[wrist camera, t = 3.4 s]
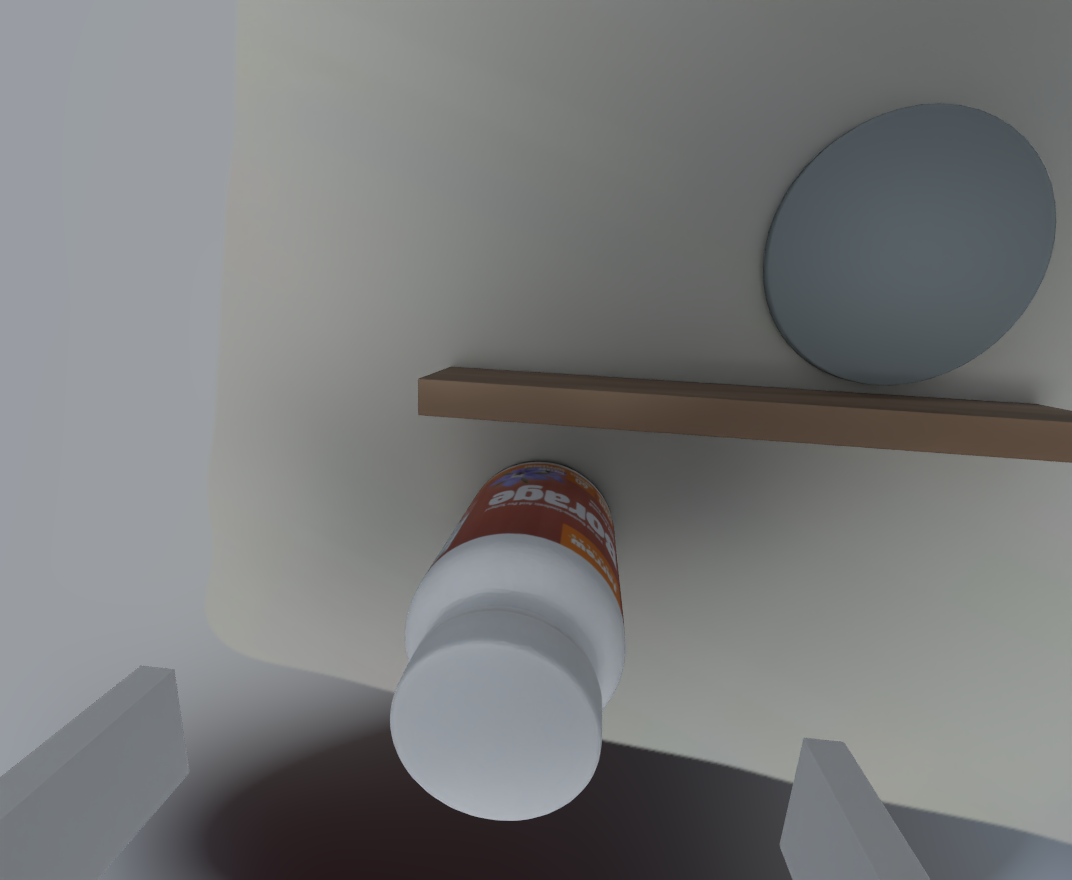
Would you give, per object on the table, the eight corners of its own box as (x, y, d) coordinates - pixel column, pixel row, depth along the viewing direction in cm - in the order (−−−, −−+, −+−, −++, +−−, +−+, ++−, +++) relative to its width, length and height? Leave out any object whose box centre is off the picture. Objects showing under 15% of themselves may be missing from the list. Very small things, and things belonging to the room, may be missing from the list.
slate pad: (787, 108, 17) (794, 100, 16) (1076, 113, 16) (1094, 106, 15) (745, 375, 19) (750, 376, 18) (997, 390, 18) (1010, 393, 18)
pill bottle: (638, 493, 20) (695, 687, 10) (577, 611, 22) (569, 888, 11) (501, 433, 20) (407, 563, 10) (450, 556, 22) (322, 782, 11)
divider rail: (450, 366, 20) (418, 378, 16) (1037, 404, 18) (1160, 428, 14) (450, 396, 20) (418, 415, 16) (1027, 435, 18) (1145, 467, 15)
